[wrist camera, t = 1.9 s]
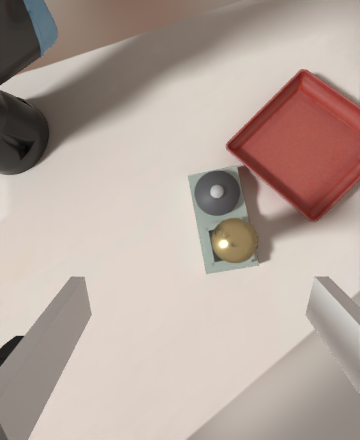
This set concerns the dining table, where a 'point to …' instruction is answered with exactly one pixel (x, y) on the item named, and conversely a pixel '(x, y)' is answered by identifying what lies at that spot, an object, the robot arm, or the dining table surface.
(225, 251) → the pin
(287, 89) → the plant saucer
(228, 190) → the base
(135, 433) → the dining table surface
